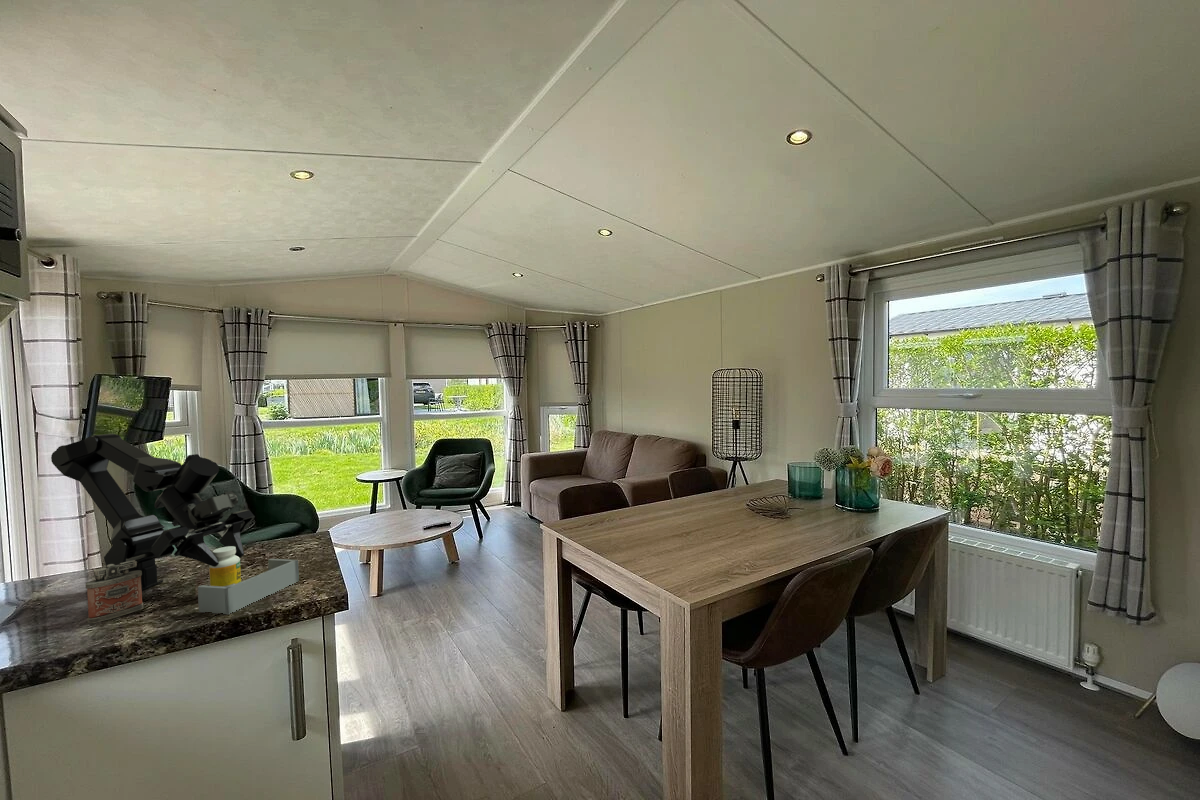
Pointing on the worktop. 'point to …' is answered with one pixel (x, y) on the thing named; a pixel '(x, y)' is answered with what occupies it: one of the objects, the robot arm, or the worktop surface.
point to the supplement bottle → (225, 567)
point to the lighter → (114, 592)
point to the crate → (248, 588)
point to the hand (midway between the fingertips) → (229, 560)
